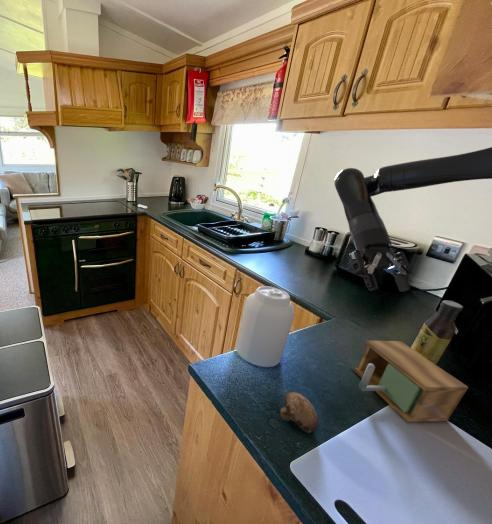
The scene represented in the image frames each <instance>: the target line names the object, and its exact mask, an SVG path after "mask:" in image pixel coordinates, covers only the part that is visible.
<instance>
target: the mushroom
mask: <svg viewBox="0 0 492 524" xmlns="http://www.w3.org/2000/svg"><path fill="white" fill-rule="evenodd" d="M279 413H280V417H281V419H282V420H283V421H286V422H289V421H293V422H294V423H295V424H296V425H297V426H298V427H299V428H300V429H301V430H302V431H303V432H305V433H308V434H310V433H313V432H315V431H316V430H317V428H318V425H319V424H318V423H319V422H318V421H319V418H318V414H317V411H316V409H315V407H314V405H313V404H312V403H311V401H309V399H308V398H307V397H305V396H304V395H303V394H301V393H300V392H296V391H288V392H287V393H286V394H285V397H284V406H283V407H281V408H280V411H279Z"/></svg>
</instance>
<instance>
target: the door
mask: <svg viewBox="0 0 492 524" xmlns="http://www.w3.org/2000/svg"><path fill="white" fill-rule="evenodd" d="M374 369H375V366H374V365H373V364H368V366H367V368H366V370H365V372H364V375H363V377H362V378H361V379H360V381H359V384H358V388H359V390H361V391H363V392H376V391H382V392H383V393H384V394H385V395H387V396H388V397H389V398H390V399H391V400H392V401H393V402H394V403H395V404H396V405H397V406H398V407H399V408H401V409H402V410H403V411H404V412H405V413H407V412H408V410H409V409H410V407H411V405H412V403H413V401H414V399H415V398H416V396H417V394H418V392H419V390H420V388H421V387H419V386H418V385H417V384H415V383H414V382H413V381H412V380H410V379H409V378H408V377H407V376H405V375H404V374H403V373H402V372H400V371H399V370H398V369H397V368H395V367H394V366H393V365H392V364H390V363H388V365H387V367H386V370H385V372H384V374H383V376H382V378H381V380H380V382H379V384H378V385H368V382H369V380H370V378H371V376H372V374H373V372H374Z"/></svg>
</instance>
